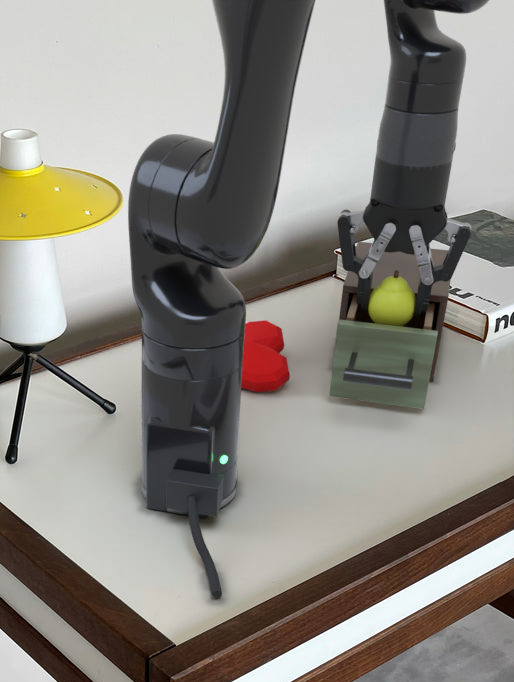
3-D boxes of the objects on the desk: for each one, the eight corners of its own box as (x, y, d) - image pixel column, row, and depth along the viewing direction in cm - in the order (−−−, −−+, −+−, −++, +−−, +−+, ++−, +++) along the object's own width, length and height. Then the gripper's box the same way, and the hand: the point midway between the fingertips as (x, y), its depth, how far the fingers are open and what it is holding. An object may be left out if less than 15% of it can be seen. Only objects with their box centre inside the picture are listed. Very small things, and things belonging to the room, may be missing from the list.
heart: (204, 406, 117) (291, 399, 116) (201, 377, 114) (291, 369, 113) (200, 346, 125) (281, 338, 124) (197, 317, 122) (280, 309, 121)
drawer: (420, 434, 106) (434, 358, 101) (321, 420, 109) (330, 346, 104) (431, 356, 121) (443, 286, 116) (344, 345, 124) (352, 277, 119)
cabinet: (432, 382, 118) (448, 296, 112) (333, 369, 121) (343, 285, 115) (439, 330, 129) (454, 250, 123) (348, 320, 132) (358, 241, 126)
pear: (410, 339, 109) (420, 281, 106) (362, 333, 111) (369, 276, 107) (414, 319, 114) (423, 263, 110) (367, 314, 115) (374, 259, 111)
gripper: (337, 157, 100) (320, 317, 110) (488, 169, 97) (457, 332, 106) (347, 137, 106) (330, 290, 116) (489, 147, 102) (459, 304, 112)
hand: (391, 310), depth 111 cm, fingers closed on pear, 5 cm apart
